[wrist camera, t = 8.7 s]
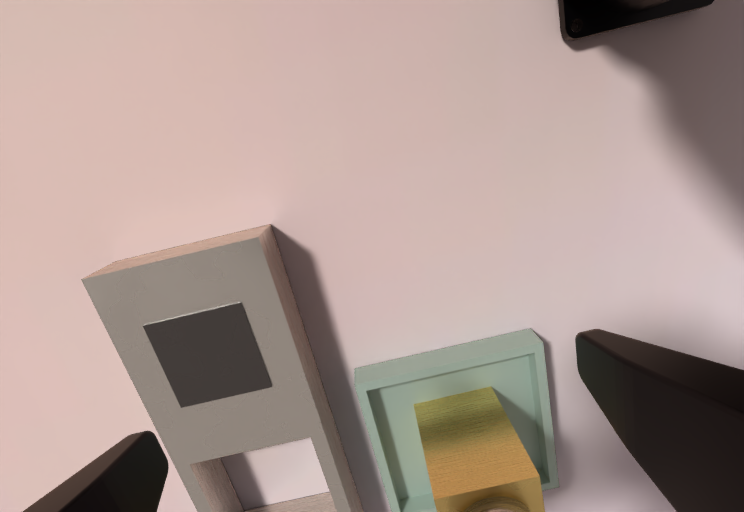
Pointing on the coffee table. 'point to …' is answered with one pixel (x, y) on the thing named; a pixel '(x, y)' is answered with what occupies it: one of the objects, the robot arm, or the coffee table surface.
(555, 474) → the parts tray
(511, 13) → the coffee table surface
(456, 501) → the brass block with knob
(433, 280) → the coffee table surface
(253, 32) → the coffee table surface
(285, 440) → the grey slotted plate
